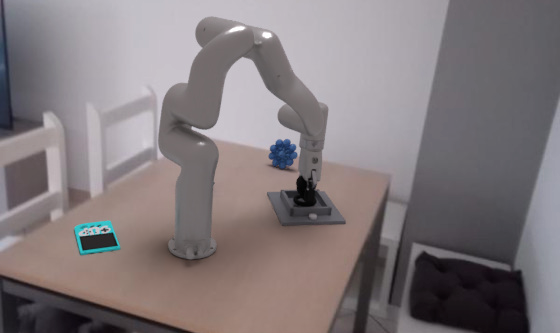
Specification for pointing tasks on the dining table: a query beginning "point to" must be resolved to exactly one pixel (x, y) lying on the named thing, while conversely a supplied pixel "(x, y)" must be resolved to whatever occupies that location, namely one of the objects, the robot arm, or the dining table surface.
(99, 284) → the dining table surface
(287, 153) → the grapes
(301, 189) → the webcam
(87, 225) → the handheld game console
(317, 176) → the robot arm
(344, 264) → the dining table surface
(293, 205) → the housing
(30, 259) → the dining table surface
